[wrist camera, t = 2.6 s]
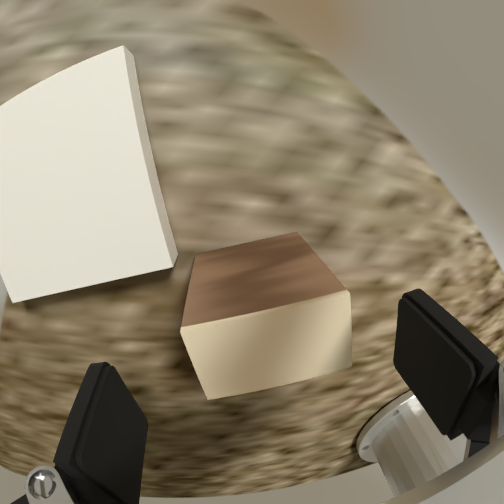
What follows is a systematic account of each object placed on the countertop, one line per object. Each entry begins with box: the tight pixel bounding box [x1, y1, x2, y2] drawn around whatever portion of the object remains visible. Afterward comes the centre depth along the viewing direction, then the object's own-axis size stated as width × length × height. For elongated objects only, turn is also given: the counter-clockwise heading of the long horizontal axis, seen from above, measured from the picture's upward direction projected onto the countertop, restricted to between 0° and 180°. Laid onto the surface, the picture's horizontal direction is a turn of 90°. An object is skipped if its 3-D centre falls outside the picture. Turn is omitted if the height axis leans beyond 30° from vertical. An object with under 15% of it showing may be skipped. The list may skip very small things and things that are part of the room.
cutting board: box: [0, 45, 178, 303], centre depth 14 cm, size 12×12×2 cm
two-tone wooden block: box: [180, 232, 352, 400], centre depth 14 cm, size 6×4×8 cm, turn 101°
